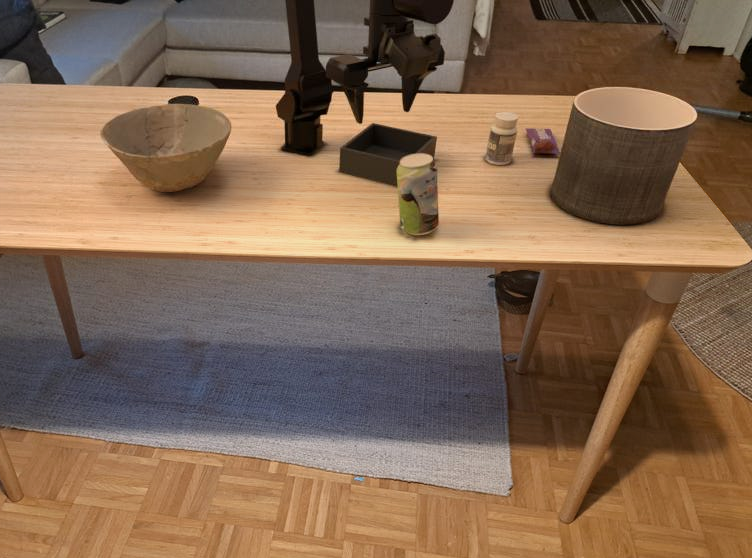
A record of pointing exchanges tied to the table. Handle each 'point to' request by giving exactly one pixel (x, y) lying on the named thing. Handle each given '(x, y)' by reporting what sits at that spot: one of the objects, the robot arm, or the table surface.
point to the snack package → (542, 141)
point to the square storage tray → (382, 152)
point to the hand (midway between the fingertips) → (383, 117)
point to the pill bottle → (502, 138)
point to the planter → (621, 154)
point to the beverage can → (418, 194)
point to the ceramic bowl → (168, 143)
